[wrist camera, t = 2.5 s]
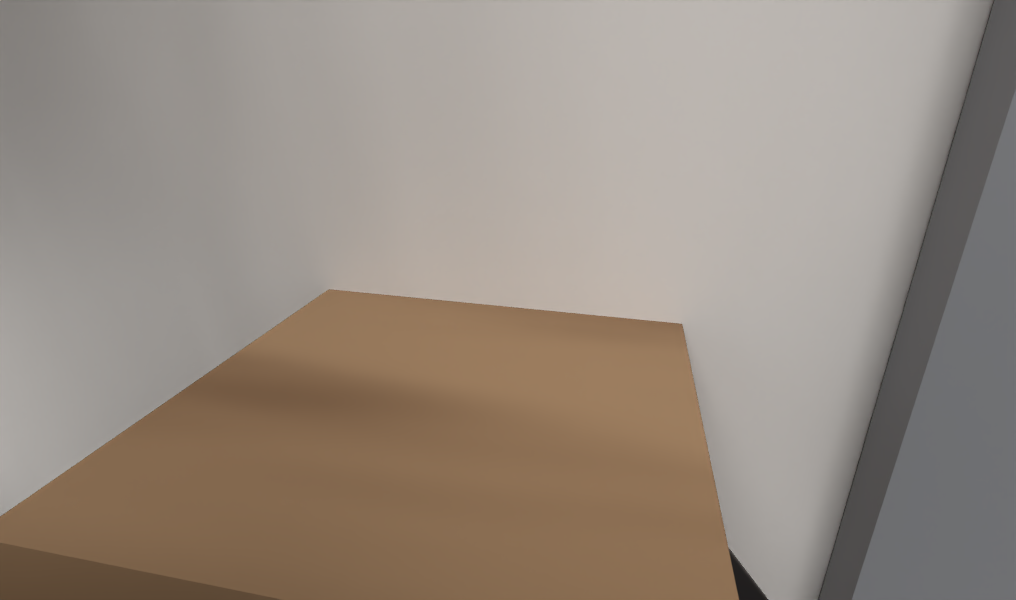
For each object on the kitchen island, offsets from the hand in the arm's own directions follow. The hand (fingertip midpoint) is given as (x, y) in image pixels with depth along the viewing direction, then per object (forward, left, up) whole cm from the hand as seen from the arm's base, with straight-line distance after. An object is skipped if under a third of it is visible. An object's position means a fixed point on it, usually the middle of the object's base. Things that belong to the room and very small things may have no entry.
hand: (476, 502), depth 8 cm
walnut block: (0, 0, -1) cm, 1 cm away
